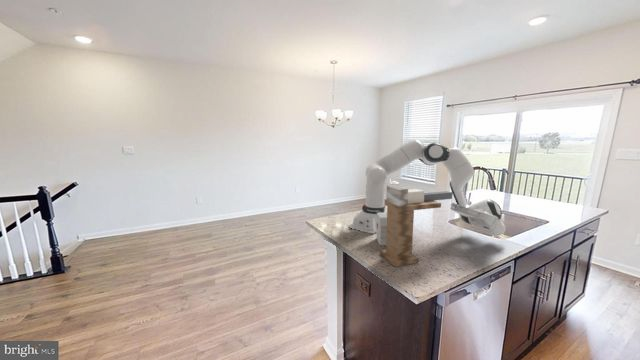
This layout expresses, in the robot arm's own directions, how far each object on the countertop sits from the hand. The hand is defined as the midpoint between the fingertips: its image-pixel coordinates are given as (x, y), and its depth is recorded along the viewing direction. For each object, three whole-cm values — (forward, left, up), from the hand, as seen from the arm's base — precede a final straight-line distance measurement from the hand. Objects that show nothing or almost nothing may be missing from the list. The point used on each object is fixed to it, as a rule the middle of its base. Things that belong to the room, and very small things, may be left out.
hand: (460, 206), depth 116 cm
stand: (-21, -18, -21) cm, 35 cm away
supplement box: (-33, -5, -21) cm, 40 cm away
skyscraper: (-35, +33, -22) cm, 53 cm away
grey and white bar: (-14, -12, +5) cm, 19 cm away
